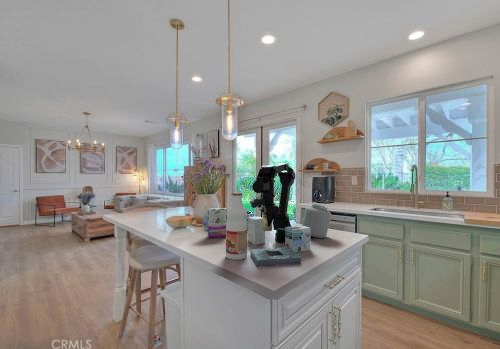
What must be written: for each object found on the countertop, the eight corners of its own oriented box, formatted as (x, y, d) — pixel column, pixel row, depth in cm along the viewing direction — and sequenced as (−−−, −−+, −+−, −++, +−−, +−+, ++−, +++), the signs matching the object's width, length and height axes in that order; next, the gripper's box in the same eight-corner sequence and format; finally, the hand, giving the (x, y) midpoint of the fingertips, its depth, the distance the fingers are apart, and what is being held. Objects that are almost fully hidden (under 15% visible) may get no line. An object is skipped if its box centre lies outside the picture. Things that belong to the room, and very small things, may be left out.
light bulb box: (293, 253, 109) (293, 229, 109) (284, 249, 115) (284, 226, 115) (311, 249, 114) (311, 227, 114) (301, 246, 120) (301, 224, 120)
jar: (334, 235, 144) (334, 193, 144) (335, 241, 130) (335, 195, 130) (302, 232, 149) (302, 192, 149) (300, 238, 135) (300, 194, 135)
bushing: (270, 228, 114) (270, 214, 115) (273, 230, 110) (273, 215, 110) (261, 229, 114) (262, 214, 114) (264, 231, 109) (264, 215, 109)
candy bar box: (226, 235, 142) (226, 207, 142) (227, 237, 137) (227, 208, 137) (207, 236, 139) (207, 208, 139) (207, 238, 134) (208, 209, 135)
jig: (288, 252, 110) (288, 247, 110) (300, 263, 96) (301, 257, 96) (250, 254, 106) (250, 249, 106) (257, 266, 93) (257, 260, 93)
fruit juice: (248, 260, 100) (248, 193, 100) (225, 260, 99) (226, 193, 99) (246, 252, 109) (246, 192, 109) (225, 253, 108) (226, 192, 108)
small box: (265, 243, 125) (265, 218, 125) (254, 244, 122) (254, 219, 122) (258, 239, 132) (258, 216, 132) (247, 240, 130) (247, 216, 130)
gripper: (247, 191, 120) (247, 221, 120) (255, 193, 102) (254, 230, 101) (269, 191, 122) (268, 221, 122) (280, 193, 104) (279, 229, 103)
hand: (267, 225), depth 112 cm, fingers closed on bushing, 4 cm apart
